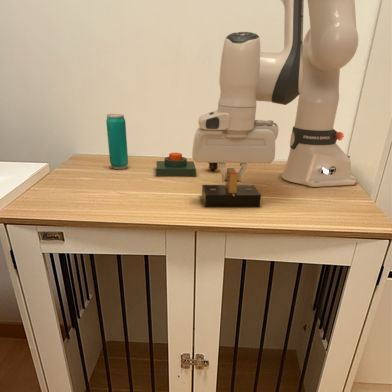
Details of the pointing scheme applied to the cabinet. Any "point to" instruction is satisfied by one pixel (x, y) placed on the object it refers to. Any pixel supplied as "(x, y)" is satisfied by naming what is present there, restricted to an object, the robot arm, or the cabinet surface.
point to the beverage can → (117, 141)
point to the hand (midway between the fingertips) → (231, 181)
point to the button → (175, 156)
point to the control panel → (230, 196)
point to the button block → (176, 167)
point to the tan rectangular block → (232, 180)
